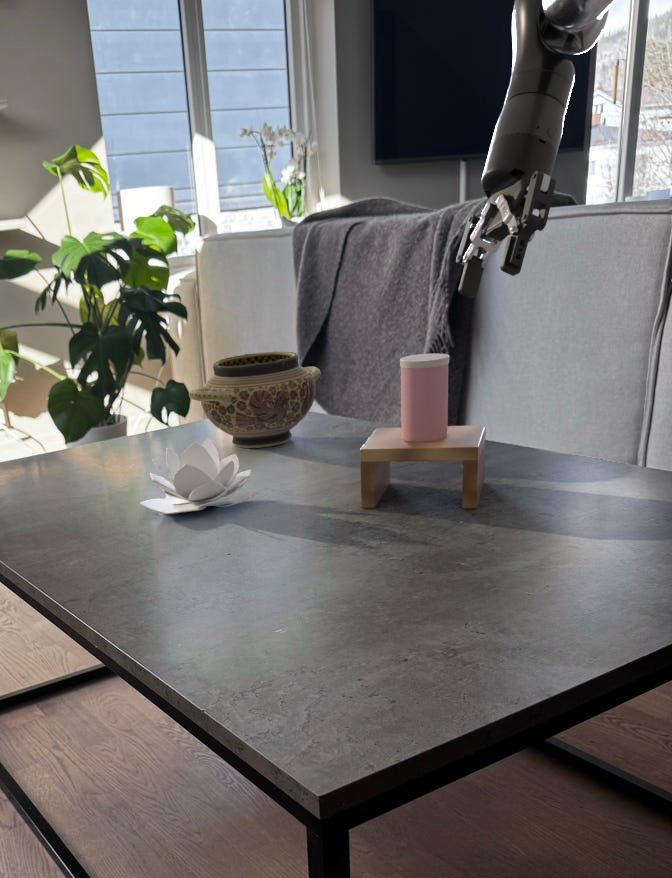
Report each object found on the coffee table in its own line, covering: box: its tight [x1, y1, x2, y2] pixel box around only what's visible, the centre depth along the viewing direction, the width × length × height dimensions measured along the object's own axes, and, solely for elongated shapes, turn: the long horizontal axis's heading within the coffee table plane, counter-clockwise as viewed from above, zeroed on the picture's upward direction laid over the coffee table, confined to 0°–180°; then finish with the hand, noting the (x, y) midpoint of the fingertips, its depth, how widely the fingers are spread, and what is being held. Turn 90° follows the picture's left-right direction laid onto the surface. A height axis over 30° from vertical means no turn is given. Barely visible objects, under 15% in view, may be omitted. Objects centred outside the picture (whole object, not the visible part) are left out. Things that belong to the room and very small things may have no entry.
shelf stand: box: [359, 424, 487, 510], centre depth 108 cm, size 13×11×7 cm
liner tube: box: [399, 352, 450, 442], centre depth 105 cm, size 5×5×9 cm
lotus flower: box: [139, 437, 260, 516], centre depth 114 cm, size 14×15×9 cm
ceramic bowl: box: [188, 351, 322, 449], centre depth 142 cm, size 24×18×15 cm
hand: (487, 284), depth 106 cm, fingers open, 8 cm apart
